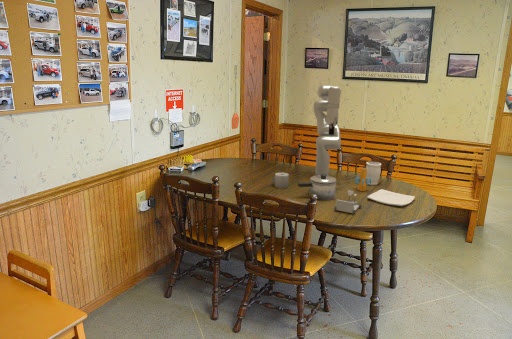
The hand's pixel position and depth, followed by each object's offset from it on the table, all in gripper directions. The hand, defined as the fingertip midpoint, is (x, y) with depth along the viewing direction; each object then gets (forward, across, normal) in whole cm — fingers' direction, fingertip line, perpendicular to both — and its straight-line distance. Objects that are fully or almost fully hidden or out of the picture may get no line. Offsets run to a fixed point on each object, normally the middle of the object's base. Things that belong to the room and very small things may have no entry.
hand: (331, 134), depth 266 cm
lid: (+27, +15, -9) cm, 32 cm away
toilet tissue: (+37, -10, -30) cm, 49 cm away
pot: (+37, +15, -13) cm, 42 cm away
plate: (+38, +27, +32) cm, 56 cm away
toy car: (+38, +39, -2) cm, 54 cm away
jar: (+37, -9, +37) cm, 53 cm away
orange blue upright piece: (+37, +5, +23) cm, 44 cm away
